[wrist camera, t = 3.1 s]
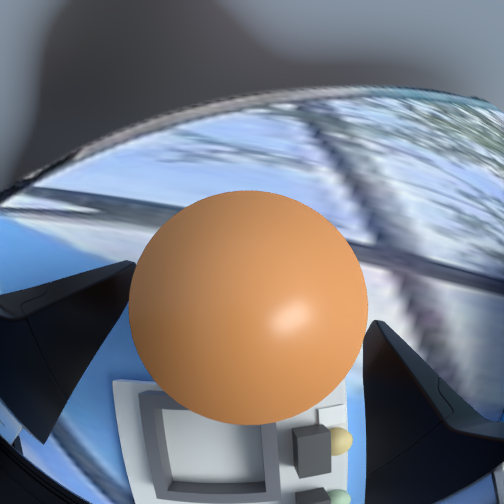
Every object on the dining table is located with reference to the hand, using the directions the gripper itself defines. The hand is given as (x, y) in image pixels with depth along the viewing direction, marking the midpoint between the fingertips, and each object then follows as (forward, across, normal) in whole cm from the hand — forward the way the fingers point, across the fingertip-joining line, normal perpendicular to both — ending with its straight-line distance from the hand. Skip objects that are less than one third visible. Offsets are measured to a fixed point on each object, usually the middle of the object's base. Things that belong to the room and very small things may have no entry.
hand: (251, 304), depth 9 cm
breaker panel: (-2, -1, +12) cm, 12 cm away
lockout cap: (+5, 0, +6) cm, 7 cm away
